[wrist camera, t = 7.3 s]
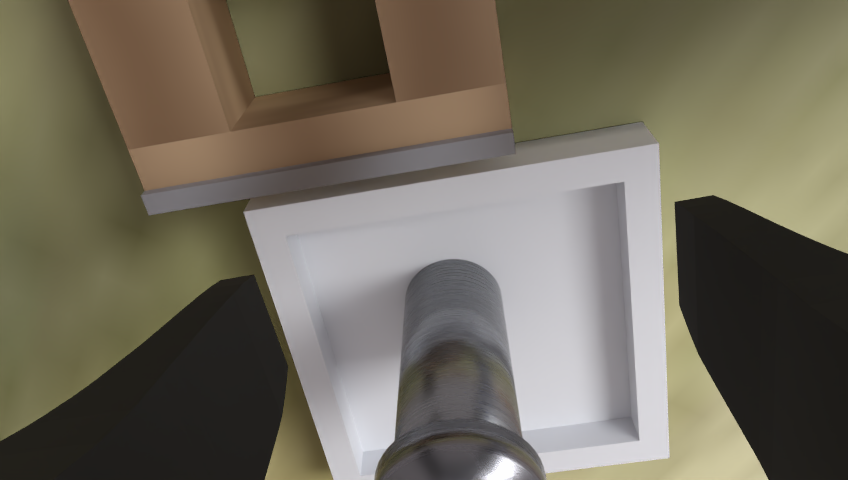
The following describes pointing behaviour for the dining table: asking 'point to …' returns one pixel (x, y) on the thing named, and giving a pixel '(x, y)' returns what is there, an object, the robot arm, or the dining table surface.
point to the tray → (516, 276)
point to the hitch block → (293, 101)
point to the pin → (456, 383)
